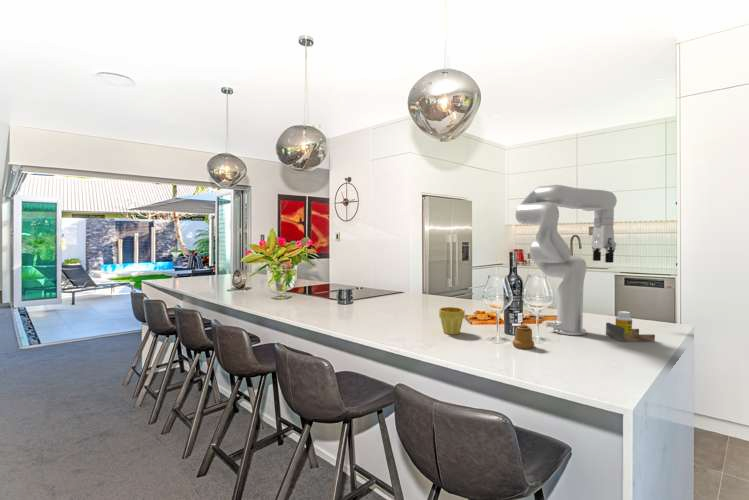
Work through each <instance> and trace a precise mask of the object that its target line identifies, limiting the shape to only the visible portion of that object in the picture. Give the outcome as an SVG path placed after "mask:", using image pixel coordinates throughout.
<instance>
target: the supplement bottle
mask: <svg viewBox="0 0 749 500" xmlns="http://www.w3.org/2000/svg"><path fill="white" fill-rule="evenodd" d="M615 325H617V326H619V327H622V328H624V335H632V329H633V318H632V317H631V312H629V311H622V310H620V311H618V312H617V316H616V317H615Z"/></svg>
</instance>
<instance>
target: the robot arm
mask: <svg viewBox="0 0 749 500" xmlns="http://www.w3.org/2000/svg"><path fill="white" fill-rule="evenodd" d="M617 201H618V200H617V196H616V194H614V192H611V191H609V190H608V191H607V190H603V189H591V188H578V187H572V186H568V185H567V186H566V185H563V184H549V185H541V186H540V185H539V186H537V187H535V188H534V189H532V190H531V191H530V192H529V193H528V194H527V196H525V198H524V199H523V200H521V202H520V203H519V205H518V206H517V207H516V209H515V220H516V221H517V222H518V223H519V224H521V225H525V226H526V225H539V229H538V230H537V233H536V236H535V240H534V241H533V242H532V243H531V244H530V247H529V255H530V258H531V260H532V262H533V263H534V264H535V265H536V266H537V267H538V268H539V270H540V271H541V272H542V273H543V274H544V276H547V277H552V278H557V279H558V278H559V279H562V281H561V282H560V283H559V285H558V287H557V303H556V304H557V305H556V309H557V312H556V313H557V314H556V317H557V318H556V319H554V321H552V322H551V321H545V323H544V324H545V325H544V326H545V327H546V328H548V327H549V328H550V327H551V328H552V331H553V332H554V333H556V334H561V335H564V336H567V335H568V336H584V335H587V334H588V333H587V331H588V330H587V329H585V328H583V322H584V321H583V320H584V319H583V318H584V315H583V314H584V282H585V277H586V274H587V262H586V261H585V259H584V258H582V257H580V256H576V255H572V252H571V251H572V250H571V248H570V246H569V245H568V244H567V243H566V241H565V240H564V239H563V237H562V236H561V235H560V233H559V232H558V225H559V218H560V211H559V208H566V209H572V210H574V209H575V210H583V211H586V212H594V216H593V217H594V219H593V229H592V235H591V248H592V261H594V262H595V261H596V262H598V261H599V262H600V261H601V259H602V257H601V256H602V253H601V250H602V249H604V250H605V256H604V257H605V258H604V262H605V263H608V264H609V263H614V253H615V250H616V246H617V243H616V241H615V231H614V226H615V225H614V222H615V220H614V219H615V218H614V217H615V215H614V214H615V207H616V205H617Z"/></svg>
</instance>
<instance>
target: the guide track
mask: <svg viewBox="0 0 749 500" xmlns="http://www.w3.org/2000/svg"><path fill="white" fill-rule="evenodd" d="M605 336H607V337H609V338H612V339H613V340H615V341H618V342H622V343H623V342H626V343H627V342H629V343H630V341H645V342H655V341H656V335H655V334H652V333H649V334H646V333H645V334H640V329H639V328H632V335H624V328H622V327H619V326H617V325H616V324H614V323H611V322H605Z"/></svg>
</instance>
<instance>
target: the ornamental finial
mask: <svg viewBox="0 0 749 500" xmlns="http://www.w3.org/2000/svg"><path fill="white" fill-rule="evenodd" d="M511 343H512V345H513V347H514V348H516V349H519V350H531V349H533V348H535V342H534V340H533V330H532V328H531V327H530V326H528V325H527V324H525V323H524V324H519V326H516V327H515V329H514V338H513V340H512V342H511Z"/></svg>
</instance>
